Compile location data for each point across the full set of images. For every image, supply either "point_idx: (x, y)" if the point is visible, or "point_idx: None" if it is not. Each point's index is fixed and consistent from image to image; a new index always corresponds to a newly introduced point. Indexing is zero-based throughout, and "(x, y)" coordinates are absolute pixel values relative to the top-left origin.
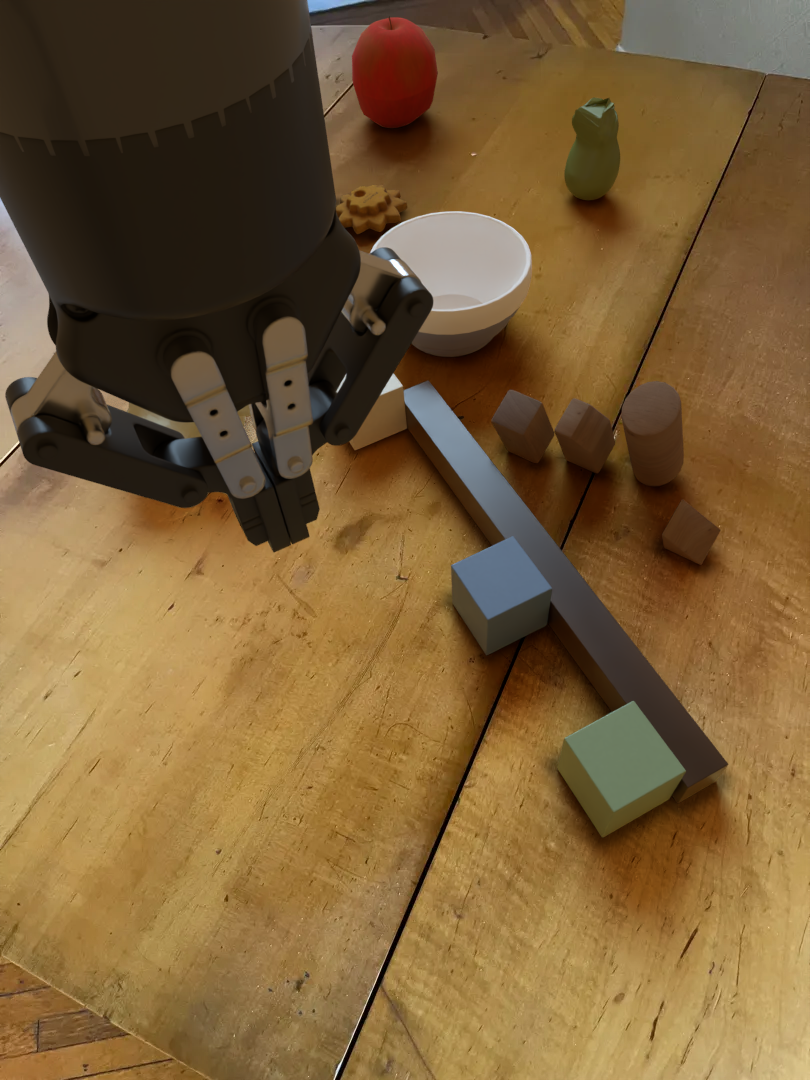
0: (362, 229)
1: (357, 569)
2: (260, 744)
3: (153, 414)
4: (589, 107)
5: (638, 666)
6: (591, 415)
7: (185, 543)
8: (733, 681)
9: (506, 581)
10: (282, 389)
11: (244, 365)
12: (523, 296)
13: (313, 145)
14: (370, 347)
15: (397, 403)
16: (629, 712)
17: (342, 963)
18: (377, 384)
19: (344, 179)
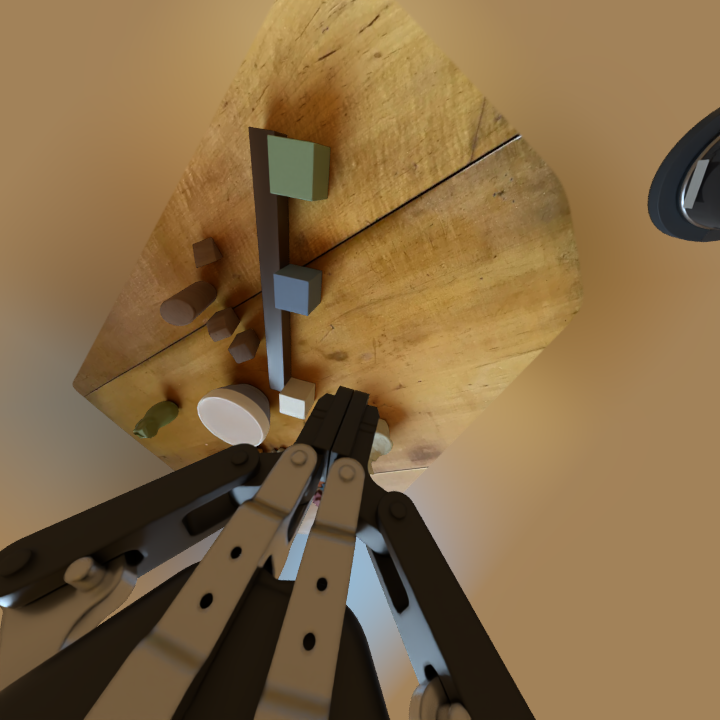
0: (259, 450)
1: (345, 342)
2: (431, 307)
3: (372, 449)
4: (143, 435)
5: (260, 210)
6: (211, 329)
7: (397, 398)
8: (227, 173)
9: (290, 291)
10: (219, 596)
11: (231, 671)
12: (212, 391)
13: None
14: (120, 542)
15: (286, 389)
16: (275, 188)
17: (477, 186)
18: (166, 485)
19: None
